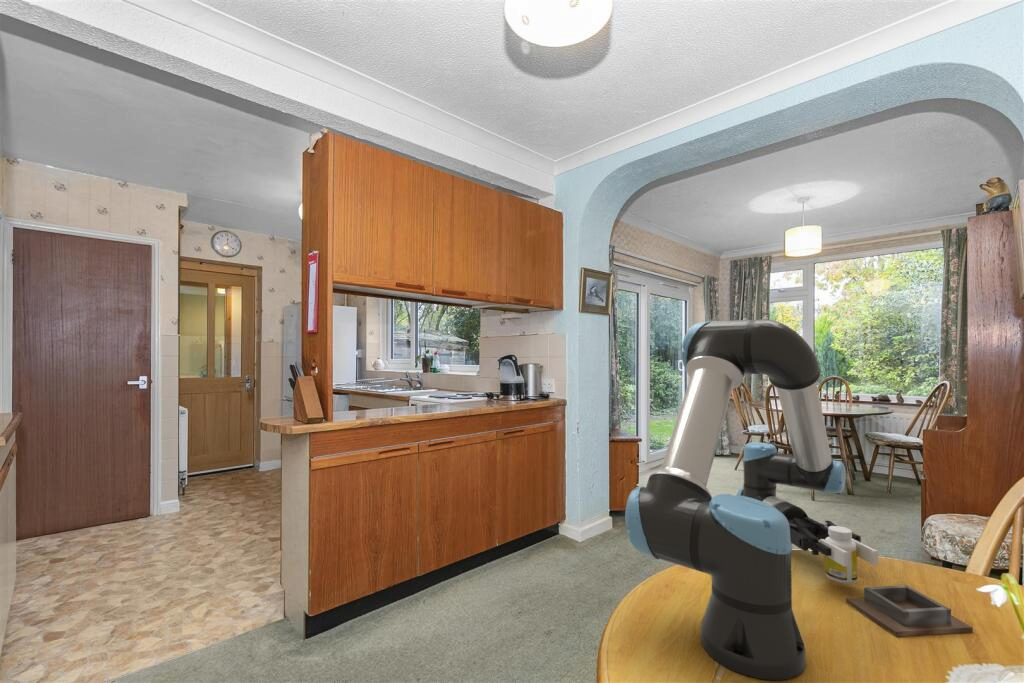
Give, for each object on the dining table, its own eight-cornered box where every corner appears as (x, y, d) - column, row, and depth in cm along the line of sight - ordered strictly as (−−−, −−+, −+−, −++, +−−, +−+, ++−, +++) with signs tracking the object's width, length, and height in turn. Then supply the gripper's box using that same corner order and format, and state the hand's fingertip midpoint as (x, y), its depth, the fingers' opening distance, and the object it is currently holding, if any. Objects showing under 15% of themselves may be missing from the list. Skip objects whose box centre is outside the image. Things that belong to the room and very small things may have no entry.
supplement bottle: (847, 572, 100) (846, 524, 101) (863, 585, 95) (862, 534, 95) (819, 571, 101) (819, 523, 101) (834, 583, 96) (833, 533, 96)
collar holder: (896, 636, 82) (895, 616, 82) (846, 602, 93) (845, 584, 93) (972, 631, 83) (972, 612, 83) (914, 598, 94) (914, 581, 94)
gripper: (820, 532, 117) (906, 576, 94) (746, 534, 115) (815, 580, 92) (820, 500, 117) (905, 537, 94) (746, 502, 115) (815, 540, 92)
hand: (861, 558), depth 93 cm, fingers closed on supplement bottle, 5 cm apart
